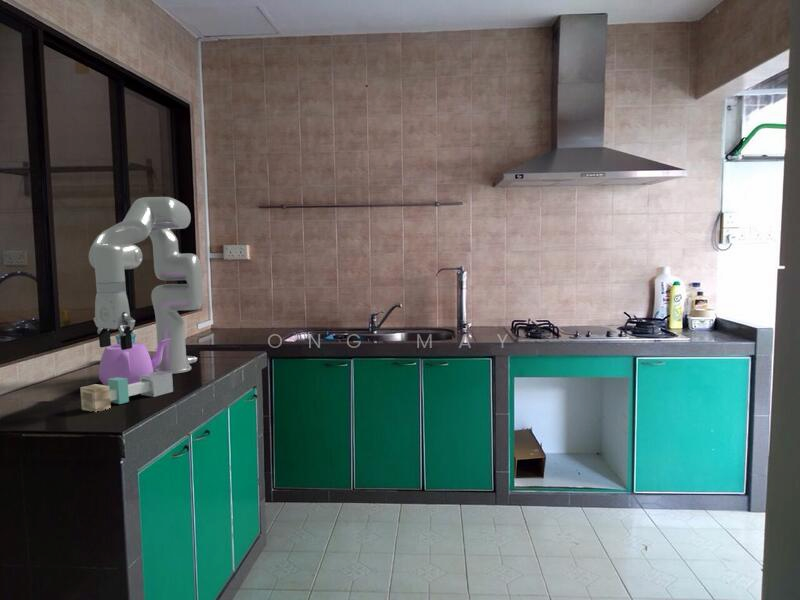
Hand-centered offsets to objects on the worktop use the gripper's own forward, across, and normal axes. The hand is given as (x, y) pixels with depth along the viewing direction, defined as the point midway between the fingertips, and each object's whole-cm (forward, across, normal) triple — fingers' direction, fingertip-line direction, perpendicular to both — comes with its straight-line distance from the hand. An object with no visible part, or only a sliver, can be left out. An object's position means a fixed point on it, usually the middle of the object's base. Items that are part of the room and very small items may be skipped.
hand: (116, 347), depth 174 cm
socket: (+16, 0, -8) cm, 18 cm away
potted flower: (+18, -59, +44) cm, 76 cm away
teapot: (+17, -21, +18) cm, 32 cm away
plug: (+16, 0, +1) cm, 16 cm away
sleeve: (+16, 0, +12) cm, 20 cm away
